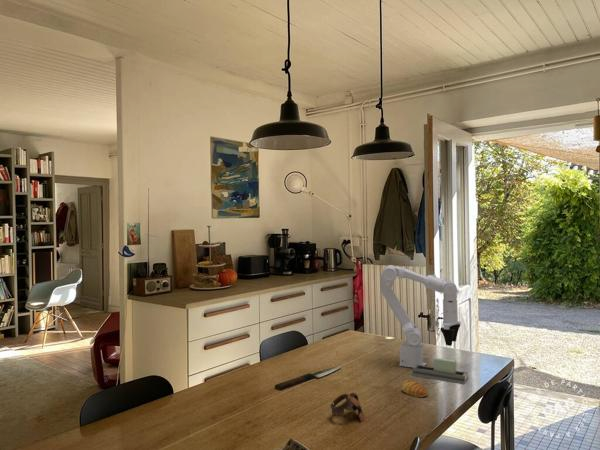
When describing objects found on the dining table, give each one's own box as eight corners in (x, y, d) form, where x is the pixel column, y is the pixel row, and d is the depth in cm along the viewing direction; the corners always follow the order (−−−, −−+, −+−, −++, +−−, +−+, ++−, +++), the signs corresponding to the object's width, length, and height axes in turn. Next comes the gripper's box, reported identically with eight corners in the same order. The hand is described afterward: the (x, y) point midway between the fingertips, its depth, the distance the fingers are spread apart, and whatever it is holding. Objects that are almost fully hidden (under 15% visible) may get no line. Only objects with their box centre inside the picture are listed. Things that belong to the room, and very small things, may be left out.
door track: (411, 375, 182) (411, 369, 182) (417, 369, 189) (417, 363, 189) (463, 384, 172) (463, 377, 172) (468, 378, 178) (468, 371, 178)
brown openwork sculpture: (362, 428, 137) (348, 405, 137) (337, 435, 141) (323, 413, 141) (371, 403, 148) (358, 382, 147) (347, 411, 152) (334, 390, 152)
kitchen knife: (283, 386, 166) (274, 383, 169) (283, 392, 166) (274, 389, 169) (346, 365, 191) (337, 362, 194) (346, 370, 191) (337, 367, 194)
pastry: (432, 395, 161) (432, 385, 161) (418, 400, 157) (418, 389, 157) (412, 388, 169) (412, 377, 169) (399, 391, 165) (399, 381, 165)
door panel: (433, 374, 181) (433, 358, 181) (435, 372, 182) (434, 357, 182) (454, 377, 176) (454, 361, 176) (455, 375, 178) (455, 360, 178)
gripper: (456, 314, 182) (456, 348, 182) (463, 308, 195) (464, 340, 195) (438, 313, 186) (439, 346, 186) (447, 307, 199) (447, 338, 199)
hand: (451, 343), depth 191 cm, fingers open, 7 cm apart
